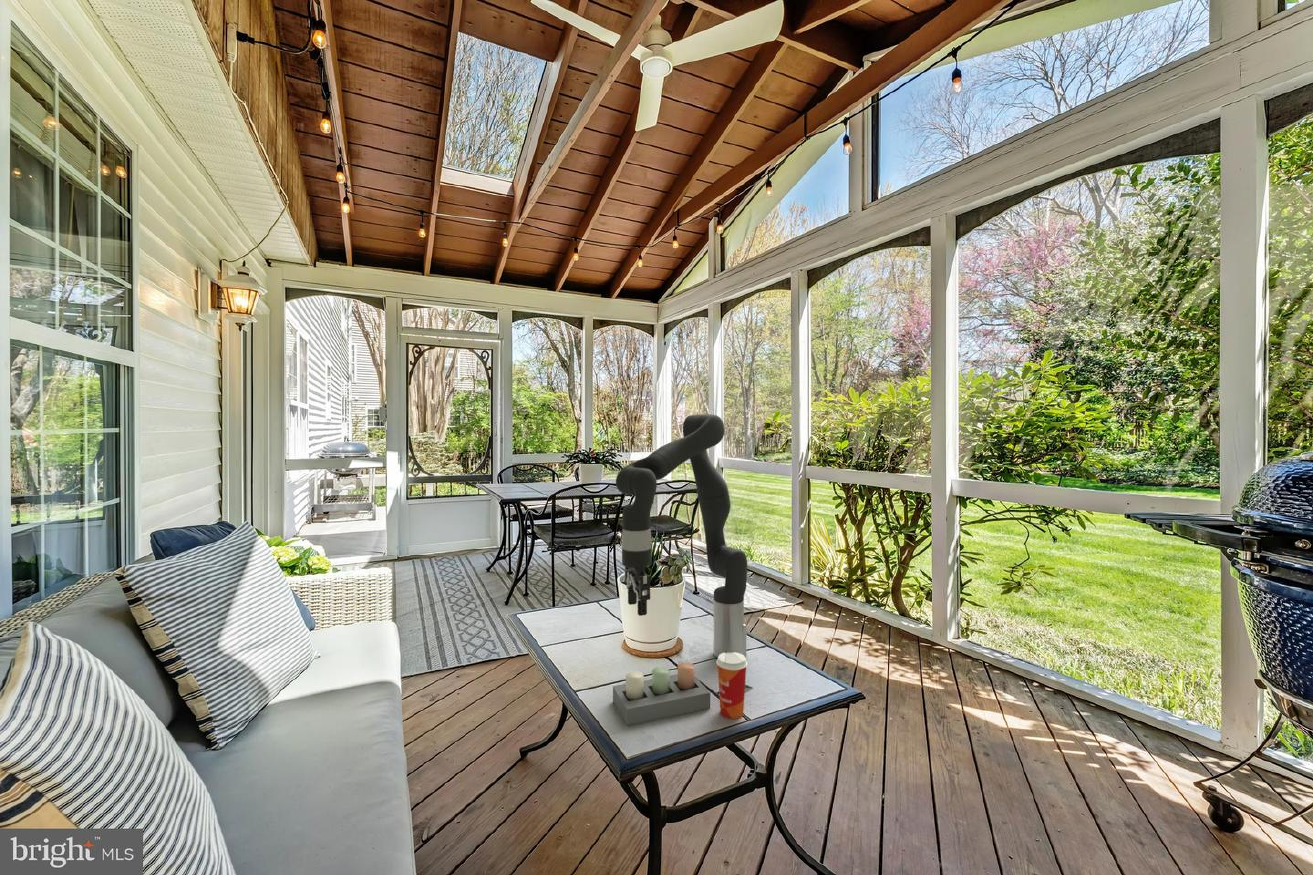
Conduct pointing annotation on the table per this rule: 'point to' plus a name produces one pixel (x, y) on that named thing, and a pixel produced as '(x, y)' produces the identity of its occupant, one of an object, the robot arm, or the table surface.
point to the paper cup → (731, 683)
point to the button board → (660, 702)
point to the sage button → (660, 680)
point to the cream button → (634, 685)
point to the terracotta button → (686, 676)
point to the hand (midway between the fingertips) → (637, 609)
